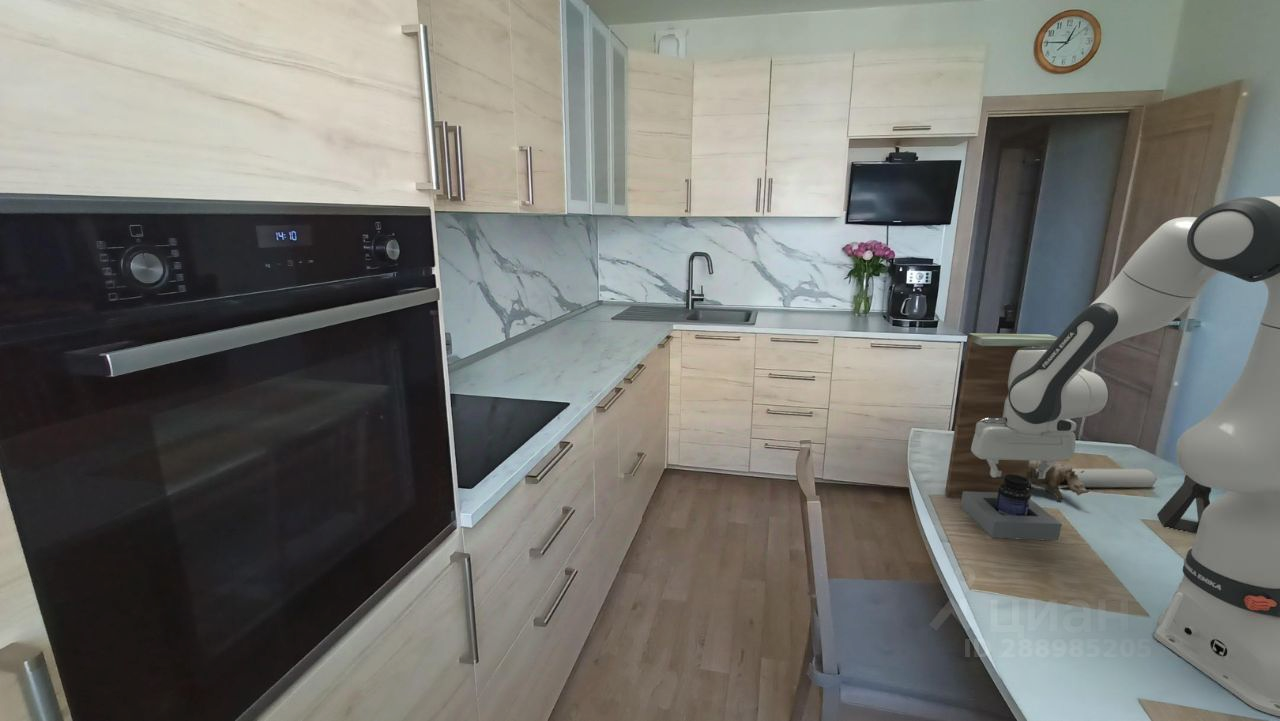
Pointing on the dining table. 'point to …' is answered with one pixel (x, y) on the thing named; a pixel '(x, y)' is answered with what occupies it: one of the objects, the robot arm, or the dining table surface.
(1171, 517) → the phone stand
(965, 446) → the wood grain plank
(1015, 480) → the pill bottle
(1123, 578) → the dining table surface
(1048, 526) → the socket block
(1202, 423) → the robot arm
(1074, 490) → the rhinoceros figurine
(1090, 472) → the tube
